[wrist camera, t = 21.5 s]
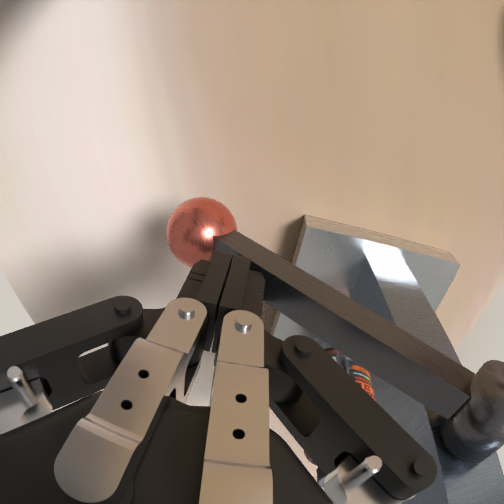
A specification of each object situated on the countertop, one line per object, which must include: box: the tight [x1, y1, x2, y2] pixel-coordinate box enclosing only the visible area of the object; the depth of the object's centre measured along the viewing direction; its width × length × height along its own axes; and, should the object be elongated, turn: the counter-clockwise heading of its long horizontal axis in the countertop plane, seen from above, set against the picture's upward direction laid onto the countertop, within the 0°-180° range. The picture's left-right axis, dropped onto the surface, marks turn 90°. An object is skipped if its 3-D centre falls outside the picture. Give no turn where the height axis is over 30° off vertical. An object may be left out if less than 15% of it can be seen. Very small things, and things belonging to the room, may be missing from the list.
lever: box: [166, 197, 504, 464], centre depth 12 cm, size 19×4×4 cm
